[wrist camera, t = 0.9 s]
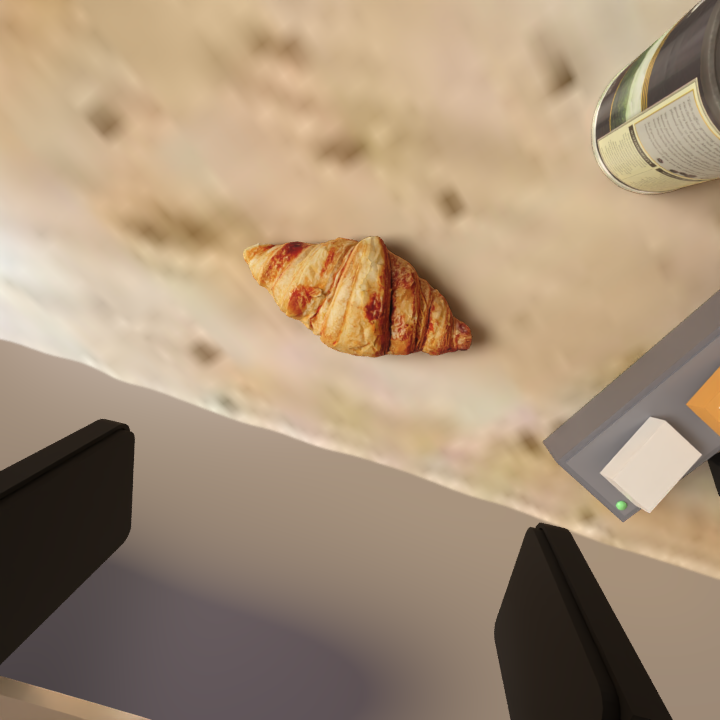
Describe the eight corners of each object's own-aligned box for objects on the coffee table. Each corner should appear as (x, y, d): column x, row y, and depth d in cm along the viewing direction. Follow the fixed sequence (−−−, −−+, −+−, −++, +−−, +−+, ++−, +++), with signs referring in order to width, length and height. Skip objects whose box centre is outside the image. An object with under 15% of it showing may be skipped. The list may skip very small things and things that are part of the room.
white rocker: (649, 416, 33) (665, 420, 32) (685, 449, 34) (702, 454, 32) (599, 473, 33) (612, 479, 32) (634, 505, 34) (649, 513, 32)
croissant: (258, 281, 43) (216, 326, 37) (264, 184, 36) (214, 221, 30) (455, 354, 41) (443, 413, 36) (500, 269, 35) (495, 324, 29)
